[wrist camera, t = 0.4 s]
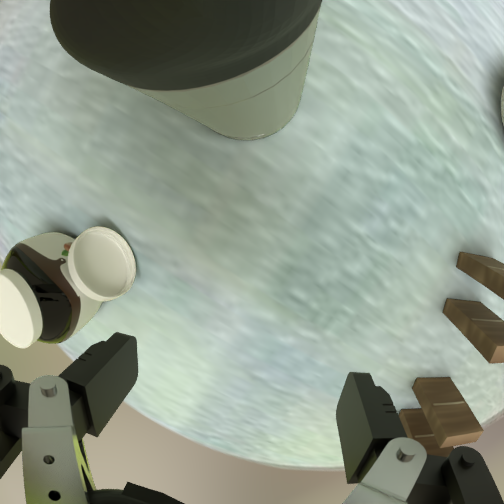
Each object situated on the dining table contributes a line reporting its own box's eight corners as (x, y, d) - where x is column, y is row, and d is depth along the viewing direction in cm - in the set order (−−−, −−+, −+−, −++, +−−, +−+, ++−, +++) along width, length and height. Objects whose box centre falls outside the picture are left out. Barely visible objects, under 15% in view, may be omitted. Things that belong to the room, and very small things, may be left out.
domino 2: (459, 251, 26) (519, 285, 16) (493, 257, 25) (551, 290, 16) (456, 267, 26) (512, 306, 16) (489, 272, 26) (545, 309, 16)
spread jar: (41, 269, 31) (-27, 304, 20) (71, 188, 28) (-11, 203, 17) (113, 332, 32) (56, 391, 21) (156, 255, 29) (89, 303, 18)
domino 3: (447, 298, 27) (497, 345, 17) (480, 301, 27) (531, 344, 17) (442, 312, 27) (489, 363, 18) (475, 315, 27) (523, 361, 17)
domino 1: (401, 409, 31) (424, 468, 21) (433, 407, 31) (460, 462, 21) (396, 418, 31) (417, 477, 22) (428, 416, 31) (453, 471, 21)
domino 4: (416, 377, 30) (447, 436, 20) (449, 376, 29) (483, 430, 20) (411, 388, 30) (439, 448, 20) (444, 387, 30) (476, 441, 20)
